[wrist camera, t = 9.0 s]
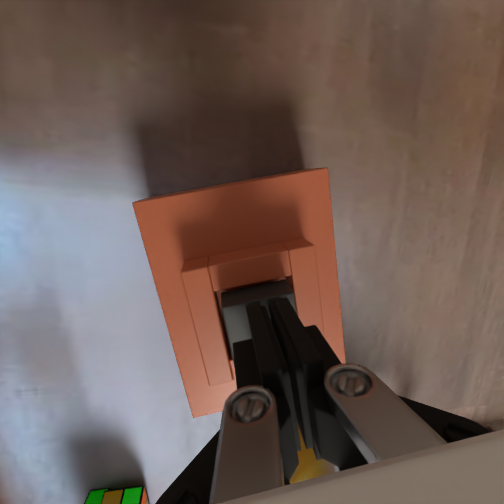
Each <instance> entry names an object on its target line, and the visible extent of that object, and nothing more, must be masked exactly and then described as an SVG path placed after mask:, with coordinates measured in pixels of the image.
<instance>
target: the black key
mask: <svg viewBox="0 0 504 504" xmlns="http://www.w3.org/2000/svg"><path fill="white" fill-rule="evenodd" d="M285 297H287V298H288V300H289V301H290V303H291V305H292V307H293V308H294V310H295V312H296V313H297V311H296V303H295V296H294V292H293V291H292V289H291V288H290V286H289V285H288V283H287V282H286V281H285V280H280V281H275V282H270V283H265V284H261V285H256V286H251V287H246V288H242V289H237V290H232V291H227V292H223V293H221V308H222V313H223V317H224V322H225V326H226V331H227V335H228V340H229V345H230V349H231V354H232V358H233V363H234V355H233V344H232V343H234V342H238V341H243V340H248V339H252V337H251V332H250V327H249V321H248V316H247V311H246V306H248V305H252V304H257V303H259V305H260V306H265V307H266V310H267V312H268V315H269V318H270V320H271V316H270V310H269V305H270V304H273V300H276V299H281V298H285ZM271 323H272V322H271ZM234 367H235V365H234Z"/></svg>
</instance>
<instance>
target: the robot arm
mask: <svg viewBox="0 0 504 504" xmlns="http://www.w3.org/2000/svg"><path fill="white" fill-rule="evenodd" d="M269 310H270V316H271V320H270V318H269V315H268V312H267V310H266V307H265V306H260V305H259V303H257V304H252V305H248V306H246V311H247V316H248V321H249V327H250V332H251V337H252V339H248V340H243V341H238V342H234V343H232V344H233V355H234V365H235V375H236V385H237V390H235V391H234V392H233V393H232V394H231V395H230V396H229V397H228V398H227V400H226V401H225V404H224V407H223V413H222V420H221V426H220V430H219V431H218V432H217V433H216V434H215V436H214V437H213V438H212V439H211V440H210V441H209V442H208V443H207V445H206V446H205V447H204V448H203V449H202V450H201V451H200V452H199V454H198V455H197V456H196V457H195V458H194V459H193V460H192V462H191V463H190V464H189V465H188V466H187V467H186V468H185V469H184V471H183V472H182V473H181V474H180V475H179V476H178V477H177V479H176V480H175V481H174V482H173V483H172V484H171V485H170V486H169V488H168V489H167V490H166V491H165V492H164V493H163V494H162V495H161V497H160V498H159V499H158V501H157V502H156V504H504V422H487V426H486V427H483V426H481V425H480V424H478V423H476V422H474V421H472V420H469V419H467V418H464V417H461V416H458V415H455V414H452V413H449V412H446V411H443V410H440V409H437V408H434V407H431V406H428V405H425V404H422V403H419V402H416V401H413V400H410V399H407V398H404V397H401V396H398V395H396V394H395V393H394V392H393V391H392V390H391V389H390V388H389V387H388V386H387V385H386V384H385V383H384V382H382V381H381V380H380V379H379V378H378V377H377V376H376V375H375V374H374V373H373V372H372V371H370V370H369V369H367V368H366V367H363V366H361V365H357V364H352V363H343V364H342V363H341V362H340V360H339V359H338V357H337V356H336V354H335V353H334V351H333V350H332V348H331V347H330V345H329V344H328V342H327V341H326V339H325V338H324V336H323V335H322V333H321V332H320V330H319V329H318V327H317V326H316V325H311V326H306V327H304V326H303V324H302V322H301V320H300V319H299V317H298V315H297V313H296V312H295V310H294V308H293V307H292V305H291V303H290V301H289V300H288V298H287V297H285V298H281V299H276V300H273V304H270V305H269ZM271 322H272V323H271ZM297 423H298V425H297ZM298 426H299V429H300V432H301V435H302V438H303V441H304V444H305V447H306V449H310V448H313V451H314V454H315V457H316V459H317V460H320V459H324V460H326V461H328V462H330V463H332V464H333V465H334V470H335V473H332V474H328V475H324V476H320V477H316V478H313V479H309V480H305V481H301V482H297V483H293V484H291V482H290V479H291V477H292V475H293V474H294V472H295V470H296V468H297V467H298V465H299V459H298V451H301V445H300V438H299V432H298Z"/></svg>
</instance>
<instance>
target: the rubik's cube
mask: <svg viewBox="0 0 504 504" xmlns="http://www.w3.org/2000/svg"><path fill="white" fill-rule="evenodd" d="M84 504H149V502H148V498H147V495H146V491H145V487H144V485H141V486H134V487H127V488H120V489H113V490H110V489H109V488H105V489H98V490H91V491H90V492H89V494H88V496H87V498H86V500H85V502H84Z"/></svg>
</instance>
